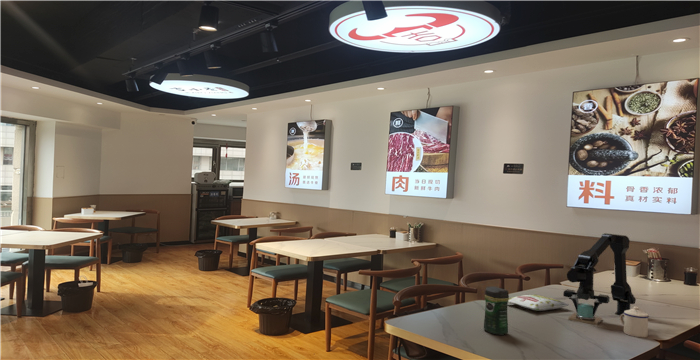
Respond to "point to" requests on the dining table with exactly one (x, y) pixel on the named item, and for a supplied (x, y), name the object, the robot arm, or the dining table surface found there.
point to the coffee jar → (496, 310)
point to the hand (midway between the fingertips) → (585, 314)
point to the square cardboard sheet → (585, 319)
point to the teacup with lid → (635, 322)
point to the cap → (585, 310)
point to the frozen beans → (537, 302)
